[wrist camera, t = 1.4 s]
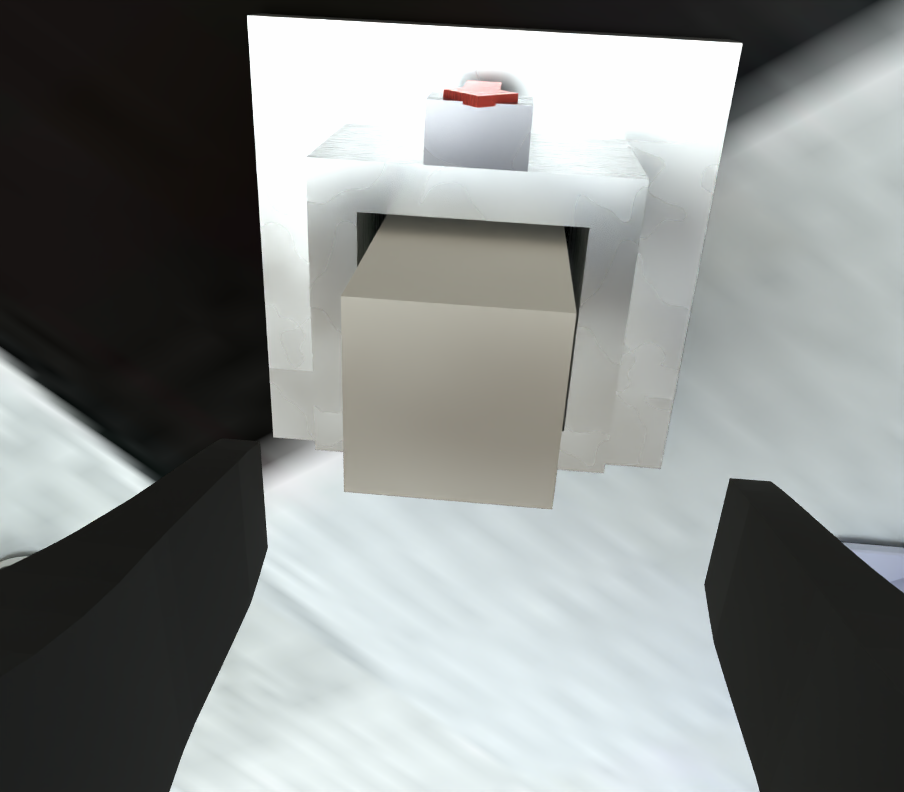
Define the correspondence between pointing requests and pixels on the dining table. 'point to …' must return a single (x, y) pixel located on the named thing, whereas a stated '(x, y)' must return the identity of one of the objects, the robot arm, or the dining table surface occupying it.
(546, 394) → the rectangular block
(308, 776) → the dining table surface
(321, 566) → the dining table surface
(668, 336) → the stand
